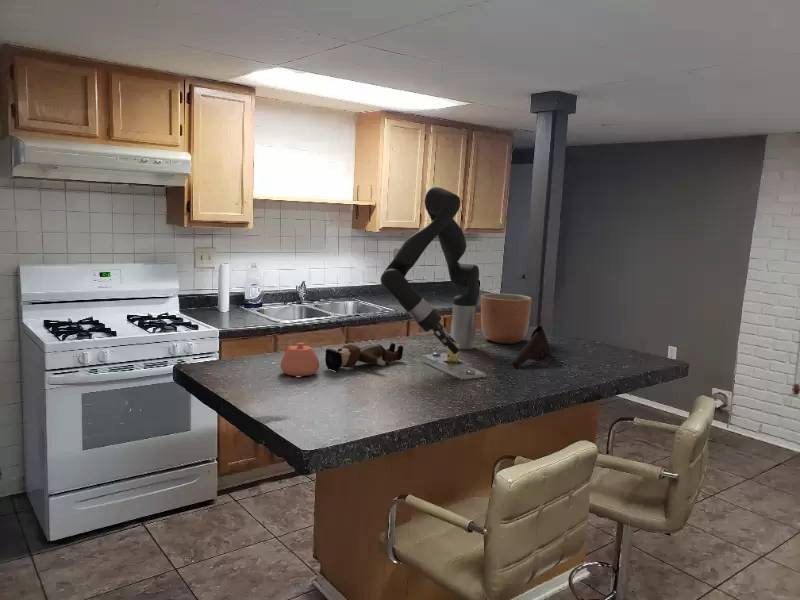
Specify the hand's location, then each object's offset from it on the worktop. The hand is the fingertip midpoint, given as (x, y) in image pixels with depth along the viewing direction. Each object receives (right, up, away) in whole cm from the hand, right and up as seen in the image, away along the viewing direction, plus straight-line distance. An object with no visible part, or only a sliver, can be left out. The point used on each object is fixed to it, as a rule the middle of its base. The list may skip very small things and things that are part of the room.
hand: (456, 349), depth 216 cm
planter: (+25, -1, +52) cm, 58 cm away
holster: (+29, -6, +17) cm, 34 cm away
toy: (-31, -6, +1) cm, 32 cm away
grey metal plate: (-1, -7, +1) cm, 7 cm away
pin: (-1, -7, +1) cm, 7 cm away
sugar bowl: (-52, -7, -12) cm, 54 cm away
